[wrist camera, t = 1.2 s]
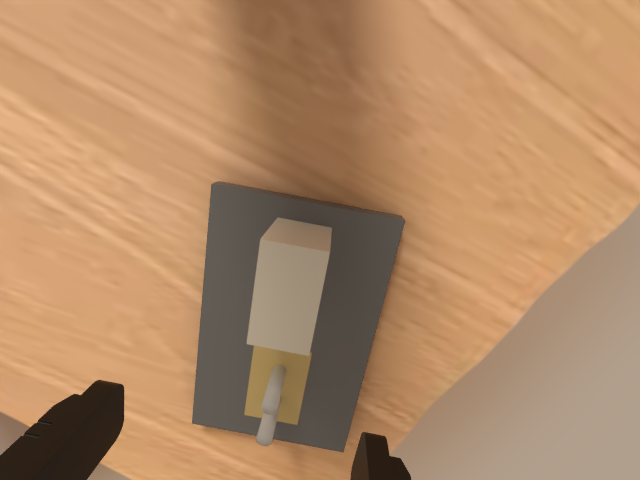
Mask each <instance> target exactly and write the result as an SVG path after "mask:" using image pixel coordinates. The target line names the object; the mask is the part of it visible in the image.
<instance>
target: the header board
mask: <svg viewBox="0 0 640 480" xmlns="http://www.w3.org/2000/svg"><path fill="white" fill-rule="evenodd" d="M278 217H279V218H284V219H289V220H295V221H300V222H305V223H310V224H316V225H321V226H326V227H331V228H332V234H331V247H330V255H329V260H328V265H327V270H326V275H325V280H324V285H323V290H322V295H321V300H320V305H319V310H318V315H317V320H316V324H315V329H314V334H313V339H312V344H311V349H310V354H309V356H306V355H301V354H296V353H291V352H285V351H280V350H275V349H270V348H264V347H259V346H254V345H249V344H246V343H247V336H248V328H249V321H250V313H251V306H252V298H253V290H254V283H255V275H256V268H257V260H258V253H259V245H260V239H261V238H262V236H263V235H264V234H265V233H266V231H267V230H268V229H269V228H270V226H271V225H272V224H273V223H274V221H275V220H276V219H277V218H278ZM404 223H405V220H404V219H403V218H402V216H398V215H393V214H388V213H382V212H377V211H372V210H367V209H361V208H356V207H351V206H346V205H340V204H335V203H330V202H325V201H319V200H314V199H309V198H304V197H298V196H293V195H288V194H282V193H277V192H272V191H267V190H261V189H256V188H251V187H246V186H240V185H235V184H230V183H225V182H216V183H213V184H212V185H211V198H210V210H209V222H208V234H207V246H206V259H205V271H204V283H203V295H202V308H201V320H200V332H199V344H198V357H197V369H196V381H195V393H194V406H193V418H192V424H197V425H203V426H208V427H213V428H218V429H224V430H229V431H234V432H239V433H245V434H250V435H255V436H257V437H256V440H257V442H258V443H259V444H260V445H262V446H268V445H270V444H271V443H272V439H276V440H282V441H287V442H292V443H297V444H303V445H308V446H313V447H318V448H324V449H329V450H334V451H339V452H344V448H345V444H346V441H347V437H348V433H349V429H350V426H351V422H352V418H353V414H354V411H355V407H356V403H357V399H358V396H359V392H360V388H361V384H362V381H363V377H364V373H365V369H366V366H367V362H368V358H369V354H370V351H371V347H372V343H373V339H374V336H375V332H376V328H377V324H378V321H379V317H380V313H381V309H382V306H383V302H384V298H385V294H386V291H387V287H388V283H389V279H390V276H391V272H392V268H393V264H394V261H395V257H396V253H397V249H398V246H399V242H400V238H401V234H402V231H403V227H404Z"/></svg>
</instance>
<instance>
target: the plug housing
mask: <svg viewBox="0 0 640 480" xmlns="http://www.w3.org/2000/svg"><path fill="white" fill-rule="evenodd" d="M331 234H332V228H331V227H326V226H321V225H316V224H310V223H305V222H300V221H295V220H289V219H284V218H279V217H278V218H277V219H276V220H275V221H274V223H273V224H272V225H271V226H270V228H269V229H268V230H267V231H266V233H265V234H264V235H263V236H262V238H261V239H260V245H259V253H258V260H257V268H256V275H255V283H254V290H253V298H252V306H251V313H250V321H249V328H248V336H247V343H246V344H249V345H254V346H259V347H264V348H270V349H275V350H280V351H285V352H291V353H296V354H301V355H306V356H309V354H310V349H311V344H312V339H313V334H314V329H315V324H316V320H317V315H318V310H319V305H320V300H321V295H322V290H323V285H324V280H325V275H326V270H327V265H328V260H329V255H330V247H331Z"/></svg>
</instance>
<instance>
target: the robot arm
mask: <svg viewBox="0 0 640 480" xmlns="http://www.w3.org/2000/svg"><path fill="white" fill-rule="evenodd" d="M123 422H124V386H123V385H122V384H118V383H113V382H108V381H103V380H98V381H96V382H94V383H93V384H92V385H91V386H90V387H89V388H88V389H87V390H86V391H85V392H84V393H83V394H82V395H77V394H73V395H71V396H70V397H68V398H66V399H64V400H63V401H61V402H59V403H57V404H56V405H54V406H53V407H52V408H51V409H50V410H49V411H48V412H47V413H45V414H44V415H43V416H42V417H41V418H40V419H39V420H38V422H37V423H35V424H34V425H33V426H31V427H30V428H29V429H28V430H27V431H26V432H25V434H24V436H21V437H20V438H19V439H18V440H17V441H16V442H14V443H13V444H12V445H11V446H10V447H9V448H8V449H7V450H6V451H5V452H4V453H3V454H1V455H0V480H87V479H88V477H89V476H90V475H91V473H92V472H93V471H94V469H95V468H96V466H97V465H98V464H99V462H100V461H101V460H102V458H103V457H104V456H105V454H106V453H107V452H108V450H109V449H110V448H111V446H112V445H113V444H114V442H115V441H116V439H117V438H118V436H119V434H120V432H121V429H122V426H123ZM351 480H411V476H410V474H409V472H408V470H407V469H406V467H405V465H404V463H403V462H402V460H401V459H400V458H396V457H391V456H389V450H388V444H387V439H386V437H385V436H381V435H376V434H371V433H366V432H363V433H362V434H361V437H360V441H359V444H358V448H357V451H356V455H355V458H354V462H353V465H352V471H351Z"/></svg>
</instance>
